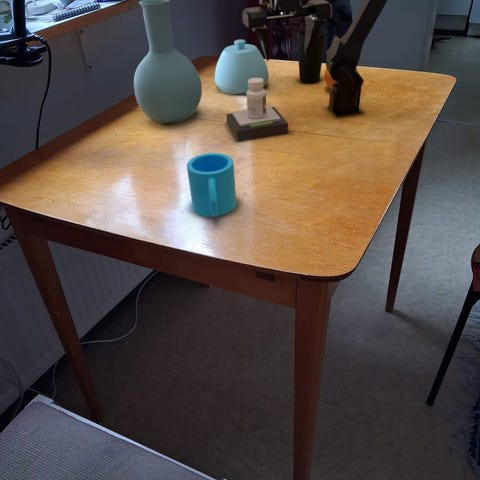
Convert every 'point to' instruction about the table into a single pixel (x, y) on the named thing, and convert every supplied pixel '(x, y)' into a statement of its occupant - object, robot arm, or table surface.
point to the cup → (310, 57)
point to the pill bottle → (256, 98)
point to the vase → (165, 71)
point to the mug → (212, 184)
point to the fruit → (329, 79)
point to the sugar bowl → (239, 68)
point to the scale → (256, 124)
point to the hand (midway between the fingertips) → (286, 57)
